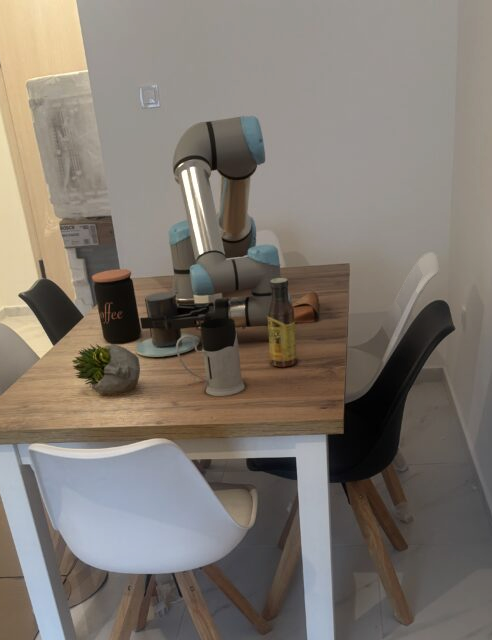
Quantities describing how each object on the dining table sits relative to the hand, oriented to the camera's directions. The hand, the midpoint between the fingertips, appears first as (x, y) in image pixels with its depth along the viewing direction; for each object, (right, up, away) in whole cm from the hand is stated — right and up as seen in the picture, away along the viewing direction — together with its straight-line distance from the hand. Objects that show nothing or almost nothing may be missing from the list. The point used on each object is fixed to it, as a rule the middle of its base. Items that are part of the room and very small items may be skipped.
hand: (146, 318), depth 201 cm
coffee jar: (-8, -2, +16) cm, 18 cm away
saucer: (+6, -7, +3) cm, 10 cm away
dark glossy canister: (+5, -6, +2) cm, 8 cm away
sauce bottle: (+35, -16, -18) cm, 42 cm away
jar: (+17, +2, +17) cm, 24 cm away
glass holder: (+18, -24, -29) cm, 42 cm away
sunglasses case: (+43, +5, +17) cm, 47 cm away
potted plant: (-6, -23, -22) cm, 32 cm away
